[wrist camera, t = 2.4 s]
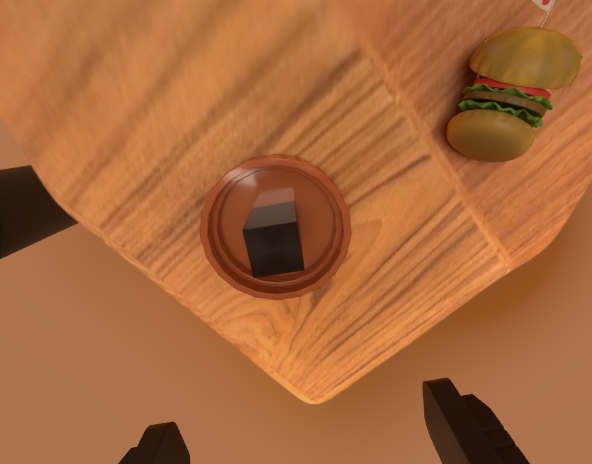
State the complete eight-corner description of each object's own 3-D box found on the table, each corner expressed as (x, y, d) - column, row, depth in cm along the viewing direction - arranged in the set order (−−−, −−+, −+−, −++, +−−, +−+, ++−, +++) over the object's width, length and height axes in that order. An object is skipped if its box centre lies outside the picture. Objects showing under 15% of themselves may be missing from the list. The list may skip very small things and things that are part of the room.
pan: (227, 291, 35) (220, 309, 32) (193, 167, 30) (181, 172, 27) (350, 272, 34) (357, 288, 31) (336, 143, 30) (342, 145, 26)
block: (260, 247, 33) (253, 278, 26) (251, 207, 31) (241, 230, 25) (301, 241, 32) (304, 270, 26) (294, 200, 31) (296, 221, 24)
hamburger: (516, 171, 29) (592, 30, 25) (533, 174, 23) (640, -15, 18) (434, 148, 32) (491, 17, 27) (430, 144, 25) (502, -26, 21)
